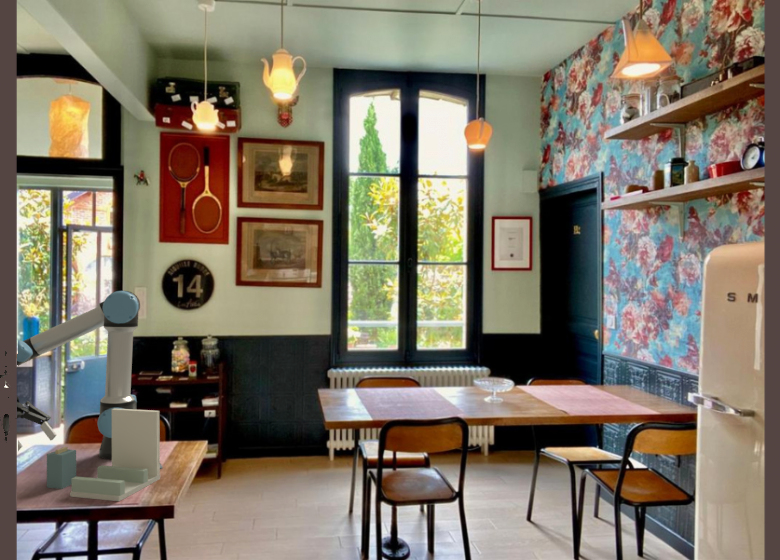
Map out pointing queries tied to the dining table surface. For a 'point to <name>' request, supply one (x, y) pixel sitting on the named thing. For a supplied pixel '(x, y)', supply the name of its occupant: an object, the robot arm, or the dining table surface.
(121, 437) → the pale green rail stand
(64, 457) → the teal block with bar
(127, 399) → the robot arm
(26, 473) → the dining table surface
